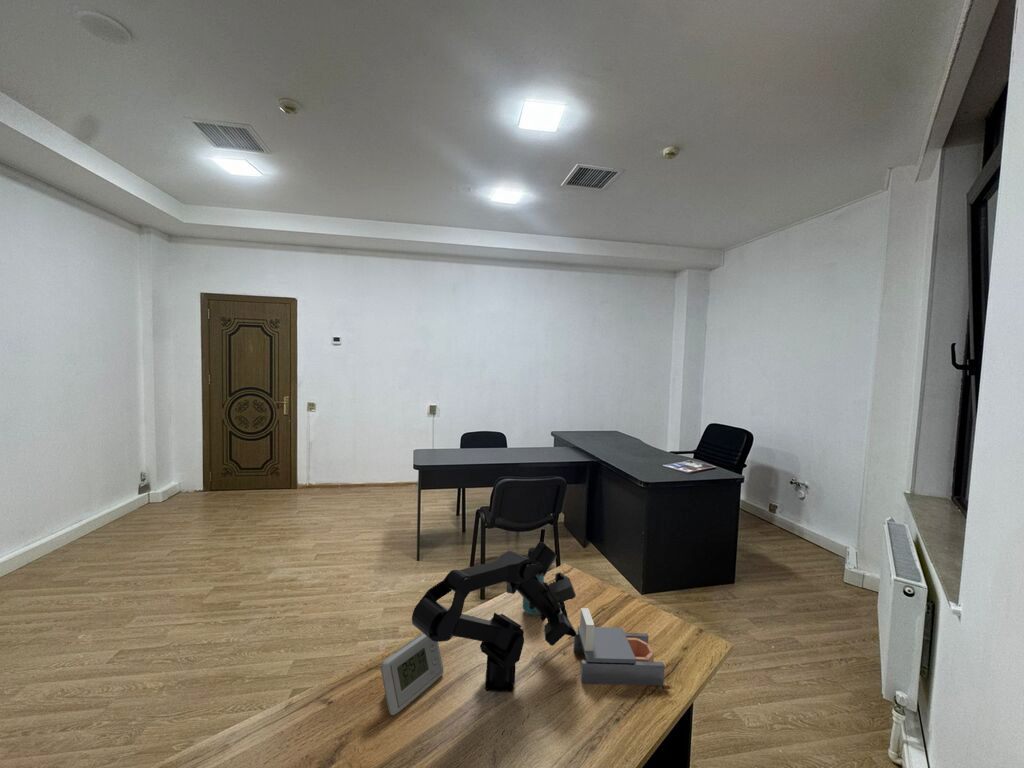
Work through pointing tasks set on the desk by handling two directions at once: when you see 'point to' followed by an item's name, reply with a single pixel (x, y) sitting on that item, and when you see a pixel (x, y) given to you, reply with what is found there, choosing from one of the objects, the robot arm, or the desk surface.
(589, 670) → the metal rails
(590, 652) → the sliding lid
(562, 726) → the desk surface
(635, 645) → the terracotta cup
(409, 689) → the digital clock
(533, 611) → the beverage bottle
